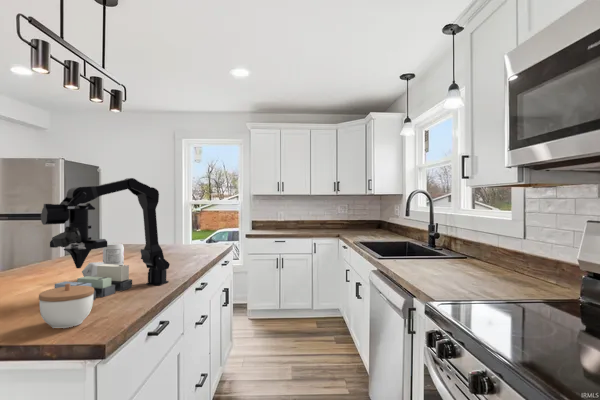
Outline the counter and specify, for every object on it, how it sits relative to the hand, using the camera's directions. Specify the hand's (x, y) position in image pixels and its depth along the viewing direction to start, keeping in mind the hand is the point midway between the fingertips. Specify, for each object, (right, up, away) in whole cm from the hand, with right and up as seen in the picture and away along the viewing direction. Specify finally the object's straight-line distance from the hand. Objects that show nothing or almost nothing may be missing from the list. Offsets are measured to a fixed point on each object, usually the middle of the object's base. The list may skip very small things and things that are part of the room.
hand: (78, 268), depth 119 cm
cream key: (+3, -8, +15) cm, 18 cm away
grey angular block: (-10, -11, +26) cm, 30 cm away
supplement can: (-7, -11, +34) cm, 37 cm away
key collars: (+1, -11, +7) cm, 13 cm away
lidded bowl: (+13, -11, -25) cm, 30 cm away
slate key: (-1, -10, -2) cm, 11 cm away
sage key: (+1, -10, +7) cm, 13 cm away
